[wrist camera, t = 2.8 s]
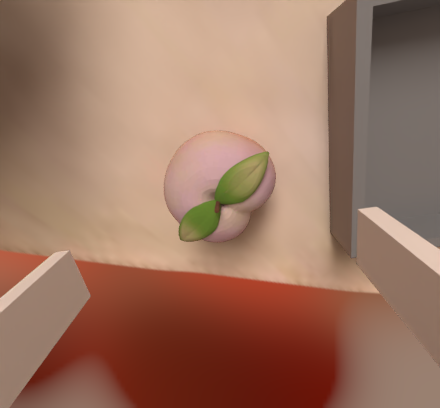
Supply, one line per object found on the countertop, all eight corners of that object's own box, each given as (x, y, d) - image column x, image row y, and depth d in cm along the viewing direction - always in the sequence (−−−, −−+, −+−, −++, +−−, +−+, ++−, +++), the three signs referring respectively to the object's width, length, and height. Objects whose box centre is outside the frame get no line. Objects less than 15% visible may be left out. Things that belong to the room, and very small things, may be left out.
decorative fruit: (207, 104, 23) (194, 105, 14) (278, 152, 24) (310, 183, 15) (160, 185, 26) (123, 231, 17) (226, 224, 27) (226, 286, 18)
